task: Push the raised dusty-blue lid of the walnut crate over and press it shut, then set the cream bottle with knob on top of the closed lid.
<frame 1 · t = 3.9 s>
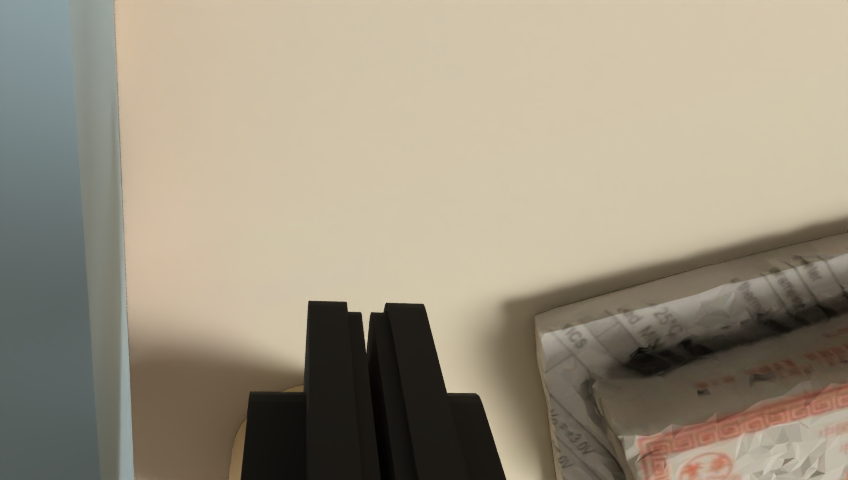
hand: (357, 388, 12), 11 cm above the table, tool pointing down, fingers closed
lid: (89, 346, 12), point 10 cm above the table, hinge at 100.4°, touching gripper
cream bottle with knob: (325, 456, 26), on the table
packaged product: (792, 355, 28), on the table
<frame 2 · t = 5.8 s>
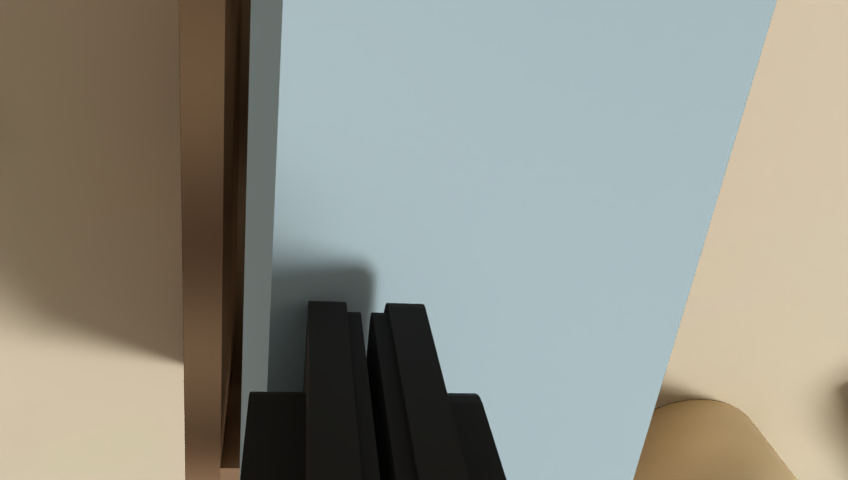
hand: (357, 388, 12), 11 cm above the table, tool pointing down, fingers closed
crate: (401, 152, 21), on the table
lid: (510, 309, 14), point 8 cm above the table, hinge at 28.6°, touching gripper
cream bottle with knob: (678, 468, 28), on the table
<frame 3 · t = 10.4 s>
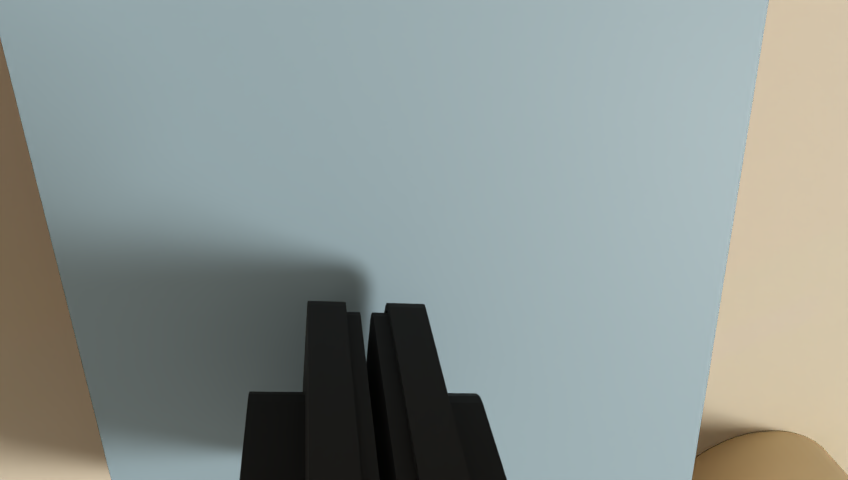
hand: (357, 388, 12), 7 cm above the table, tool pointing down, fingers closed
lid: (429, 362, 13), point 6 cm above the table, hinge at 6.8°
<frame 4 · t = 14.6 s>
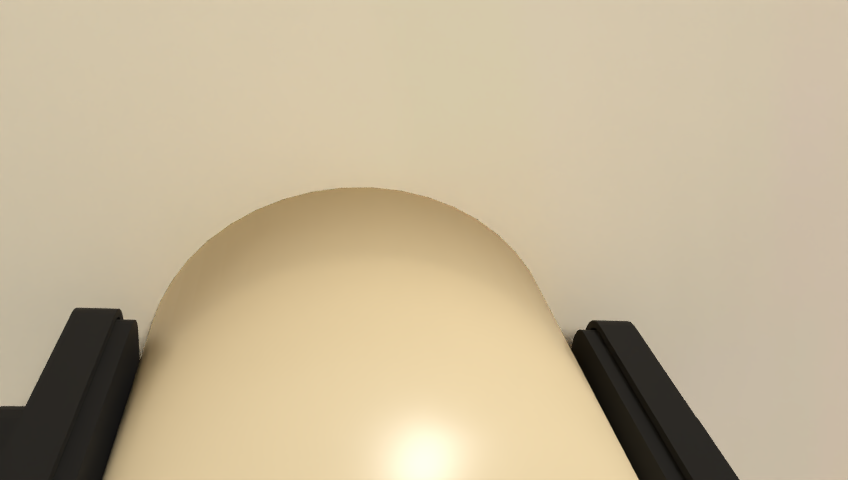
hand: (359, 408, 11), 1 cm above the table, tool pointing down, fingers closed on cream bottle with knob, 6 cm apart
cream bottle with knob: (355, 373, 12), on the table, touching gripper
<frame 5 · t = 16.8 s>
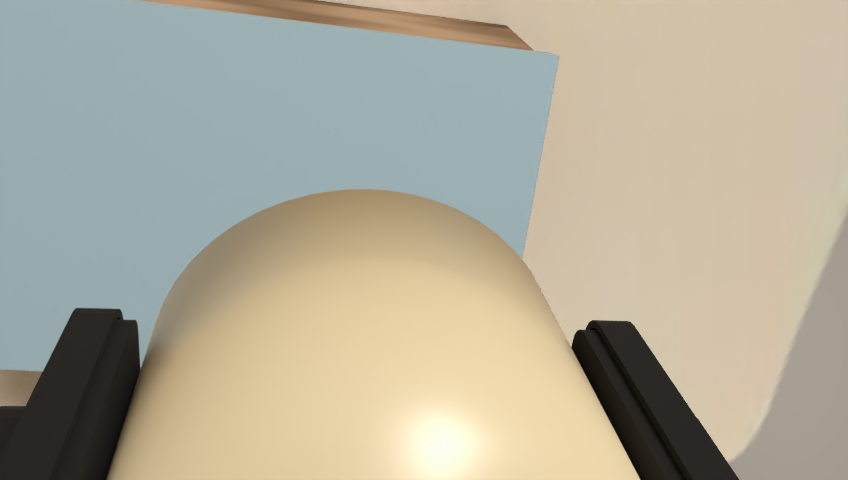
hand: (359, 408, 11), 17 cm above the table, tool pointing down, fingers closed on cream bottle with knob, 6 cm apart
crate: (275, 146, 27), on the table
lid: (266, 210, 21), point 6 cm above the table, hinge at 6.8°
cream bottle with knob: (358, 374, 12), point 16 cm above the table, touching gripper
when the fingers open (8 cm above the table, at t = 19.2 s): cream bottle with knob stays where it is, resting on lid.
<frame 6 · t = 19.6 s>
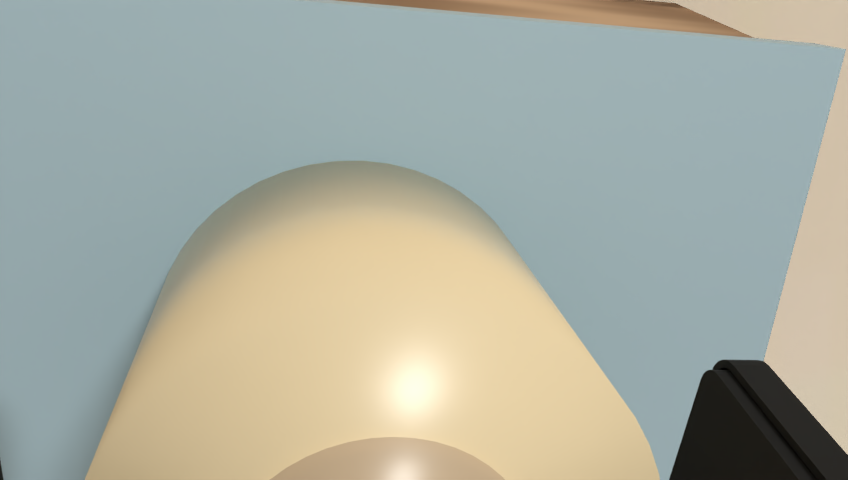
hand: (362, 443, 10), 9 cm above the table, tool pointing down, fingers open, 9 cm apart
crate: (337, 193, 19), on the table
lid: (351, 323, 13), point 6 cm above the table, hinge at 6.4°, touching cream bottle with knob
cream bottle with knob: (350, 343, 13), point 7 cm above the table, tilted 6°, touching lid
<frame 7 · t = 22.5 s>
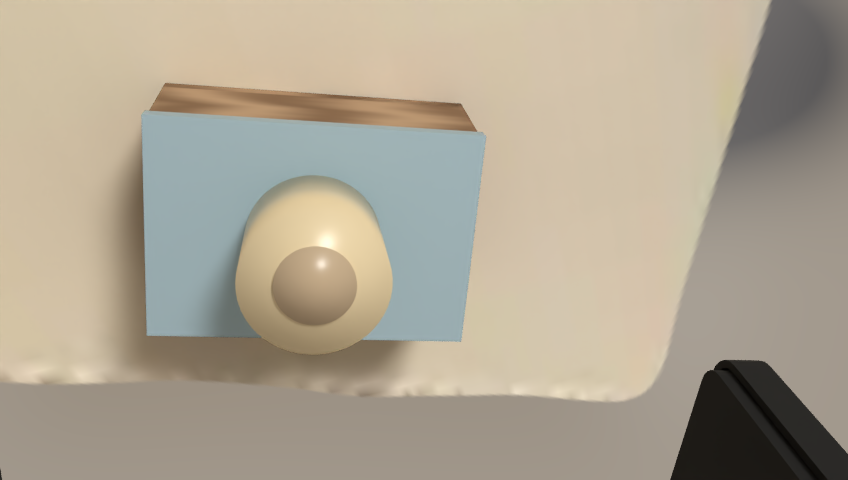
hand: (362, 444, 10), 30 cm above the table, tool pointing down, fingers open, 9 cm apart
crate: (312, 187, 41), on the table
lid: (314, 234, 36), point 6 cm above the table, hinge at 6.4°, touching cream bottle with knob
cream bottle with knob: (313, 240, 35), point 7 cm above the table, tilted 6°, touching lid
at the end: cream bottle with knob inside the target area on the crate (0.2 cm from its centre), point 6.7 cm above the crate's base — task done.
